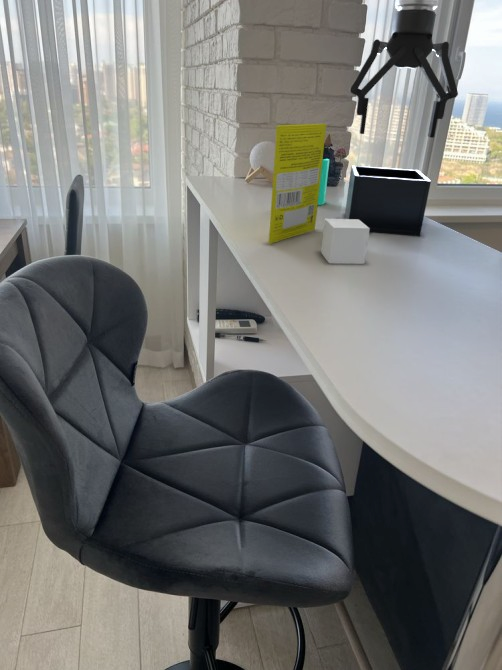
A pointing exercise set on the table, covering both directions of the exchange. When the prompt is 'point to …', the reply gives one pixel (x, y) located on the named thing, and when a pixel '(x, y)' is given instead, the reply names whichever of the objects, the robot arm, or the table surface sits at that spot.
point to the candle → (323, 181)
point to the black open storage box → (388, 199)
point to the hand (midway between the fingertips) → (396, 135)
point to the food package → (296, 179)
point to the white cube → (344, 241)
